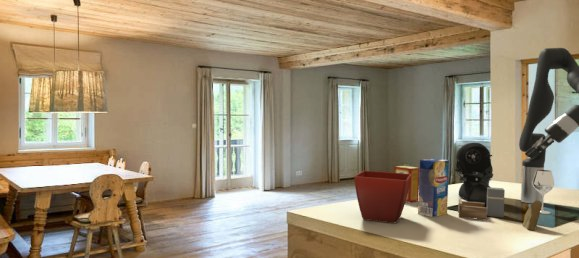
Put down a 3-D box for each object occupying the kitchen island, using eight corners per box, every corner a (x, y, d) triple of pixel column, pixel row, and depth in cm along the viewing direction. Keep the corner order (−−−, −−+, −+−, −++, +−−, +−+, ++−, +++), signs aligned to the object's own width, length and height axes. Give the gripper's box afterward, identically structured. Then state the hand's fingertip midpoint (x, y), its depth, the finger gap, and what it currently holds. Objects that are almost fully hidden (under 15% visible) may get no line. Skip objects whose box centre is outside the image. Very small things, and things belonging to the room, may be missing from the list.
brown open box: (458, 211, 188) (458, 198, 188) (483, 213, 184) (484, 200, 184) (458, 217, 177) (459, 203, 176) (486, 219, 173) (486, 205, 173)
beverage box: (447, 213, 183) (449, 160, 182) (433, 217, 175) (435, 161, 175) (432, 210, 188) (433, 158, 187) (417, 213, 181) (419, 159, 180)
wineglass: (556, 215, 186) (558, 172, 185) (534, 213, 187) (536, 171, 187) (548, 211, 194) (550, 169, 193) (528, 209, 195) (530, 169, 195)
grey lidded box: (486, 213, 186) (487, 187, 185) (502, 214, 184) (503, 188, 183) (487, 215, 181) (488, 188, 181) (503, 217, 179) (504, 190, 179)
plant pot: (405, 226, 158) (406, 179, 158) (352, 221, 165) (353, 175, 165) (410, 216, 176) (411, 173, 176) (362, 211, 183) (363, 170, 183)
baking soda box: (393, 198, 213) (394, 165, 213) (402, 197, 217) (403, 165, 217) (409, 202, 206) (410, 167, 205) (418, 201, 210) (419, 167, 209)
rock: (541, 226, 154) (555, 219, 160) (525, 204, 158) (539, 198, 164) (517, 238, 162) (531, 231, 168) (503, 217, 166) (516, 211, 171)
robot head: (512, 205, 202) (502, 141, 201) (474, 211, 202) (464, 147, 202) (484, 193, 232) (475, 138, 231) (451, 199, 232) (442, 143, 232)
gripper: (550, 121, 181) (518, 148, 186) (557, 121, 168) (522, 150, 172) (565, 134, 179) (532, 162, 184) (573, 135, 166) (537, 164, 171)
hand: (527, 156), depth 178 cm, fingers open, 8 cm apart
